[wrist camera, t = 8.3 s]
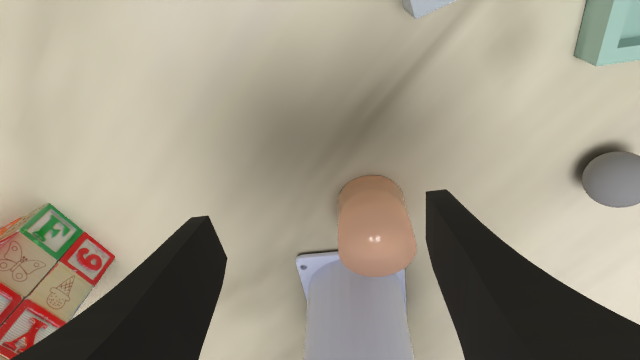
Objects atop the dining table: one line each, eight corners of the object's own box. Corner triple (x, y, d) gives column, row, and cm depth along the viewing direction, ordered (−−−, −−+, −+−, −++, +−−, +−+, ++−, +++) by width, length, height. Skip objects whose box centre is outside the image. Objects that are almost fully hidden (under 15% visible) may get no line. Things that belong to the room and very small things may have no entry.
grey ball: (619, 183, 22) (659, 216, 19) (565, 189, 22) (596, 222, 20) (637, 138, 20) (682, 167, 17) (577, 145, 20) (613, 175, 18)
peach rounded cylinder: (404, 223, 24) (417, 273, 21) (341, 229, 25) (343, 279, 21) (402, 171, 22) (416, 217, 18) (333, 179, 22) (333, 225, 19)
